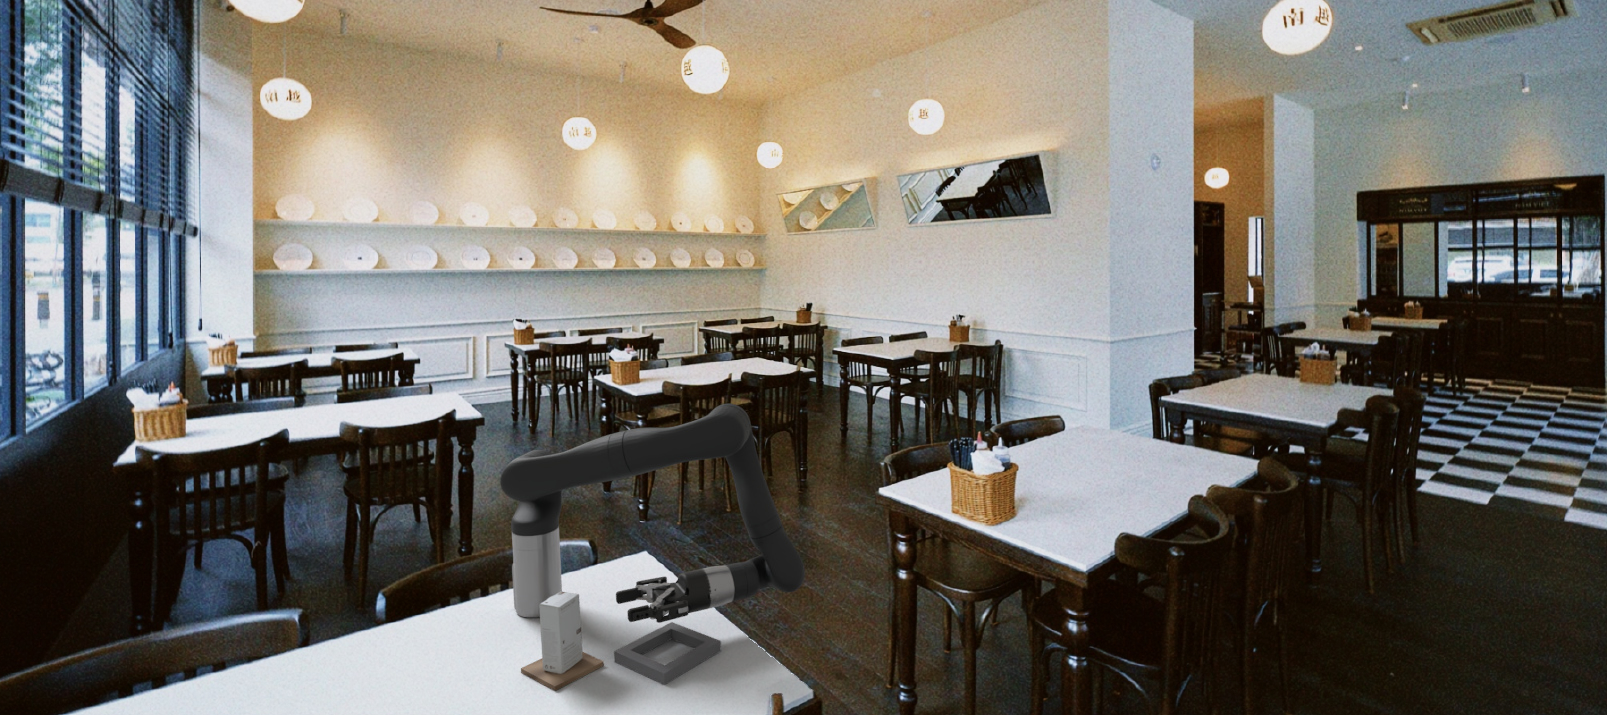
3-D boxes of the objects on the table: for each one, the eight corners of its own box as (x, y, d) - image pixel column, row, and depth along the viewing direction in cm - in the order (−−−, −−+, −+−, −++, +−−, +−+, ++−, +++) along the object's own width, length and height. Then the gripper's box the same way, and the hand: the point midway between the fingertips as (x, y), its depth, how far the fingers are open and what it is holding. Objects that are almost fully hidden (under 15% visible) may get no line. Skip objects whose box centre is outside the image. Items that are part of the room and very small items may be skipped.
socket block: (614, 661, 133) (614, 651, 133) (672, 631, 144) (671, 621, 144) (664, 684, 125) (663, 673, 125) (721, 651, 136) (720, 640, 136)
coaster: (521, 672, 130) (520, 668, 130) (569, 649, 138) (569, 645, 138) (555, 690, 124) (555, 686, 124) (603, 665, 132) (603, 661, 132)
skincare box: (562, 675, 127) (559, 607, 126) (541, 670, 129) (537, 604, 127) (584, 657, 133) (581, 593, 132) (563, 653, 135) (560, 590, 133)
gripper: (692, 557, 148) (611, 573, 141) (719, 582, 136) (631, 601, 128) (693, 593, 149) (613, 611, 142) (720, 621, 137) (633, 643, 129)
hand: (622, 606), depth 135 cm, fingers open, 8 cm apart
